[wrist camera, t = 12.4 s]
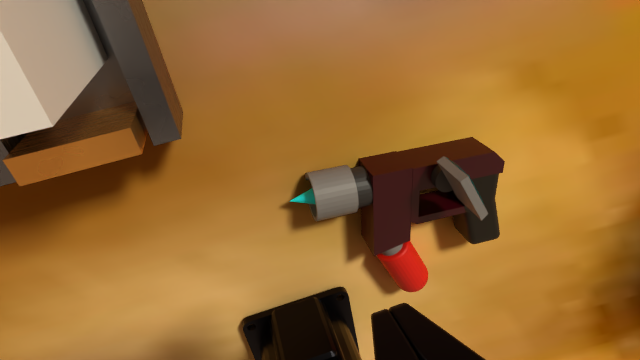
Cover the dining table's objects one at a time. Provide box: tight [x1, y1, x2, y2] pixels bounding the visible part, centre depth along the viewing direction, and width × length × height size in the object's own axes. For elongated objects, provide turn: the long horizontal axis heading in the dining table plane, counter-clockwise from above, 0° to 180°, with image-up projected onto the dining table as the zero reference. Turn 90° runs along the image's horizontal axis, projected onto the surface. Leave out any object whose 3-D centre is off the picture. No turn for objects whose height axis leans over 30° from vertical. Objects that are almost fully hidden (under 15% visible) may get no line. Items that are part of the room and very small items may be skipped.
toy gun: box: [290, 137, 505, 292], centre depth 22 cm, size 10×12×5 cm
